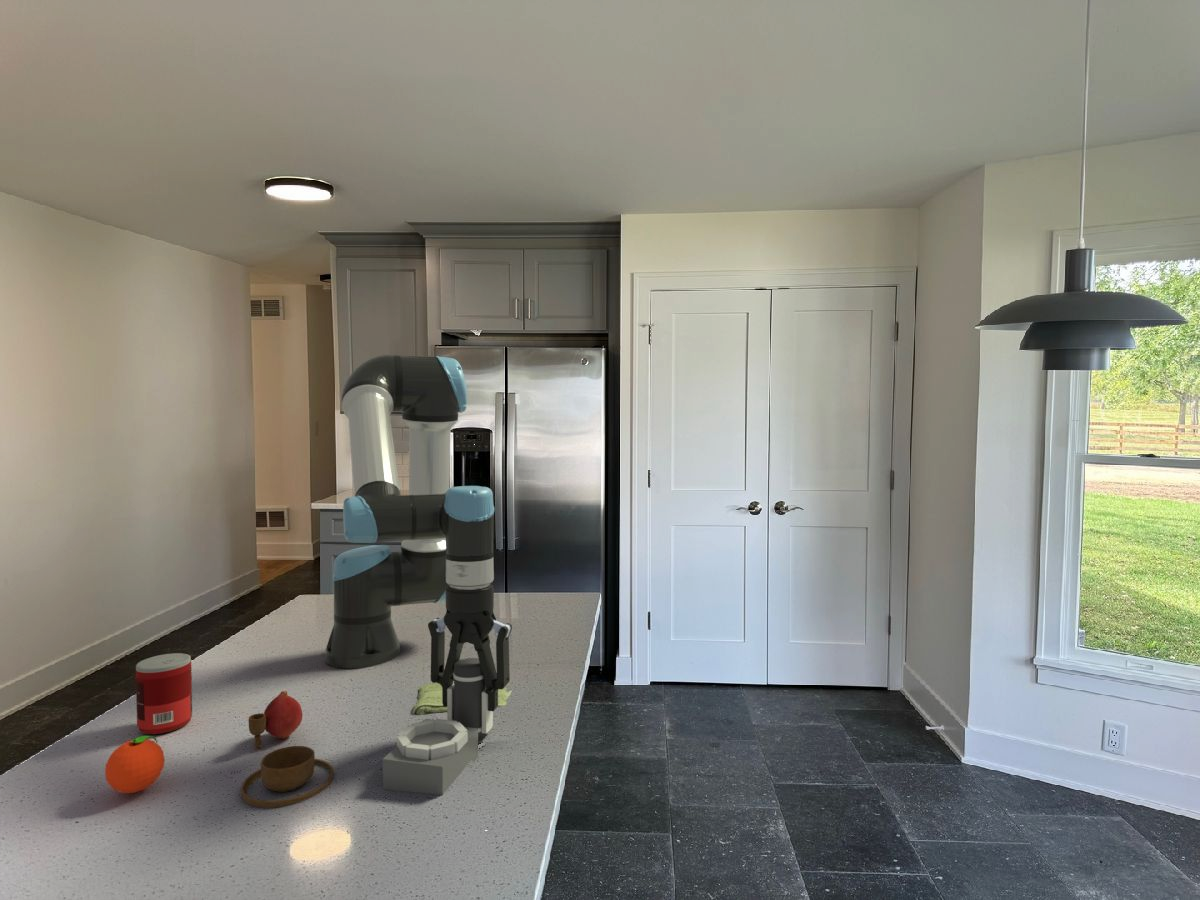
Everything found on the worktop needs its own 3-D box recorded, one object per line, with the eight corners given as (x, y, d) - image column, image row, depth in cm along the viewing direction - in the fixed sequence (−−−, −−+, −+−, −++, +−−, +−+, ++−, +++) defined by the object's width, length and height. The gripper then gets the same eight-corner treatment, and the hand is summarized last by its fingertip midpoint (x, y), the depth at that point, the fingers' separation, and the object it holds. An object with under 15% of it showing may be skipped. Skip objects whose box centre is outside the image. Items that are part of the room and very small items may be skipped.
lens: (448, 748, 109) (447, 667, 109) (462, 734, 114) (461, 656, 114) (478, 752, 108) (478, 670, 107) (491, 737, 113) (491, 659, 113)
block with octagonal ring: (444, 803, 94) (443, 756, 94) (381, 794, 96) (381, 748, 96) (479, 760, 105) (479, 719, 105) (422, 753, 108) (422, 713, 107)
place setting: (204, 822, 90) (203, 778, 90) (246, 750, 110) (246, 714, 109) (346, 806, 94) (346, 763, 94) (363, 739, 113) (362, 704, 113)
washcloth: (514, 719, 121) (514, 701, 121) (410, 725, 118) (410, 707, 118) (513, 690, 134) (513, 674, 134) (419, 695, 131) (419, 678, 131)
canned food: (202, 718, 120) (201, 655, 119) (160, 738, 112) (158, 671, 112) (170, 712, 122) (168, 650, 122) (126, 731, 115) (124, 665, 114)
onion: (263, 750, 108) (262, 700, 108) (262, 735, 113) (261, 687, 113) (304, 742, 111) (303, 693, 111) (301, 728, 116) (300, 681, 116)
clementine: (134, 772, 101) (133, 725, 101) (180, 773, 101) (179, 726, 101) (92, 802, 93) (91, 751, 93) (143, 804, 93) (141, 752, 93)
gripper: (405, 586, 108) (406, 731, 109) (515, 593, 104) (515, 744, 105) (428, 575, 116) (429, 712, 117) (531, 582, 112) (531, 723, 113)
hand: (470, 727), depth 111 cm, fingers closed on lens, 5 cm apart
